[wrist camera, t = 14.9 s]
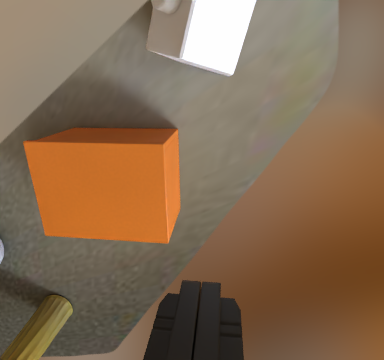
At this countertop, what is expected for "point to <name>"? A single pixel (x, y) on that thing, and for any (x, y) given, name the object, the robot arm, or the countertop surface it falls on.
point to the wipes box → (137, 136)
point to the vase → (39, 330)
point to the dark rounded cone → (1, 250)
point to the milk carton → (200, 32)
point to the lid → (101, 189)
